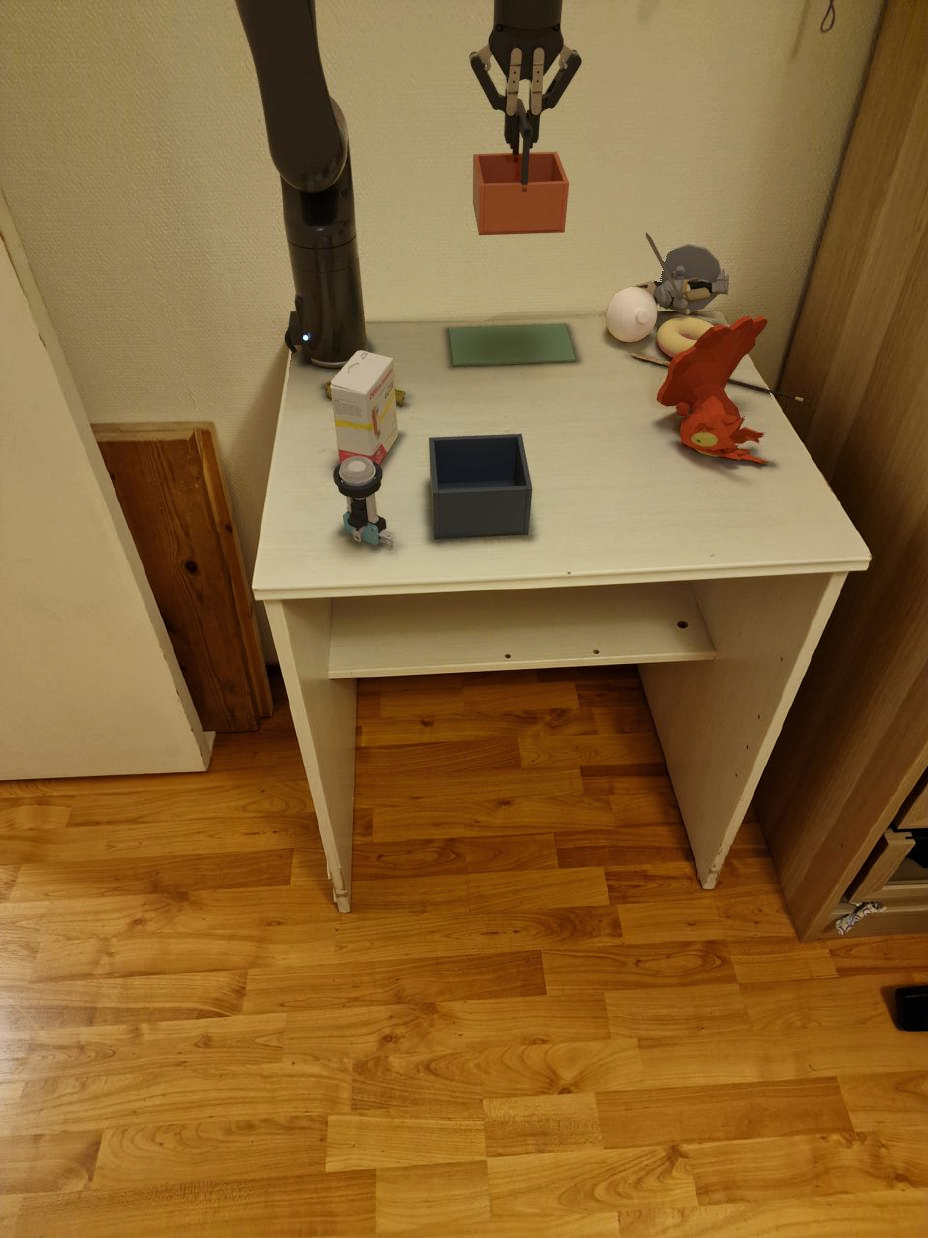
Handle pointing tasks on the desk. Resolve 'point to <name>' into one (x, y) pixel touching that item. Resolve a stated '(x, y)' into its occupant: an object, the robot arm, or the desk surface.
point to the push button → (362, 499)
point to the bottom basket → (479, 486)
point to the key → (398, 393)
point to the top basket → (520, 188)
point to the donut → (680, 334)
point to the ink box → (365, 406)
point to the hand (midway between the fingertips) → (520, 145)
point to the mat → (510, 345)
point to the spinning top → (631, 314)
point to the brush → (728, 380)
